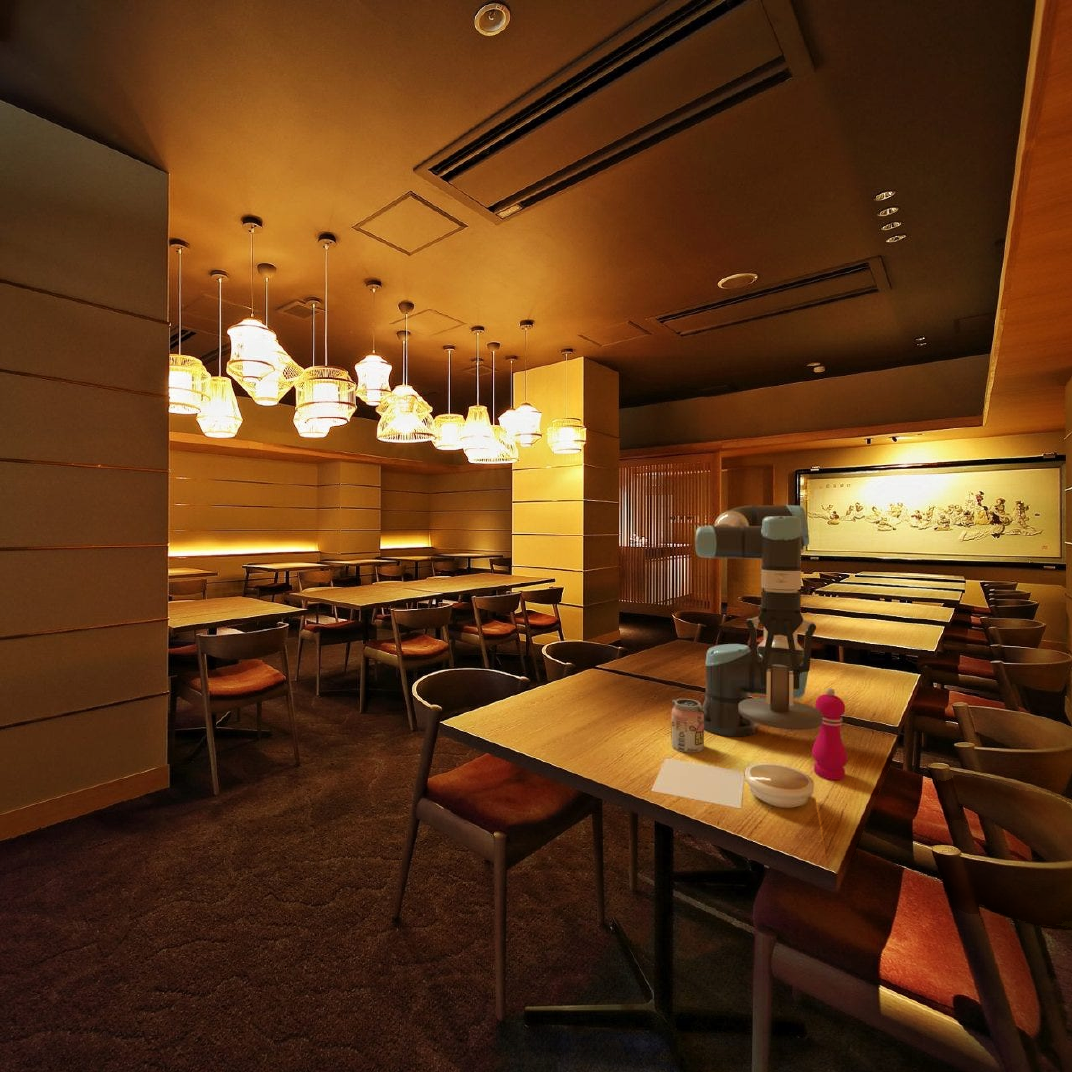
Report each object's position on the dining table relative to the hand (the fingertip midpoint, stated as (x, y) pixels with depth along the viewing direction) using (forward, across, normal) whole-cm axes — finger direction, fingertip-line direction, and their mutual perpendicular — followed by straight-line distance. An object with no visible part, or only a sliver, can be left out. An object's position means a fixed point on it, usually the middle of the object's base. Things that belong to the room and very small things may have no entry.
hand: (779, 702), depth 112 cm
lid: (+3, 0, 0) cm, 3 cm away
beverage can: (+21, -21, +20) cm, 36 cm away
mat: (+21, -16, +1) cm, 26 cm away
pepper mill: (+21, +11, +18) cm, 30 cm away
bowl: (+21, 0, 0) cm, 21 cm away
